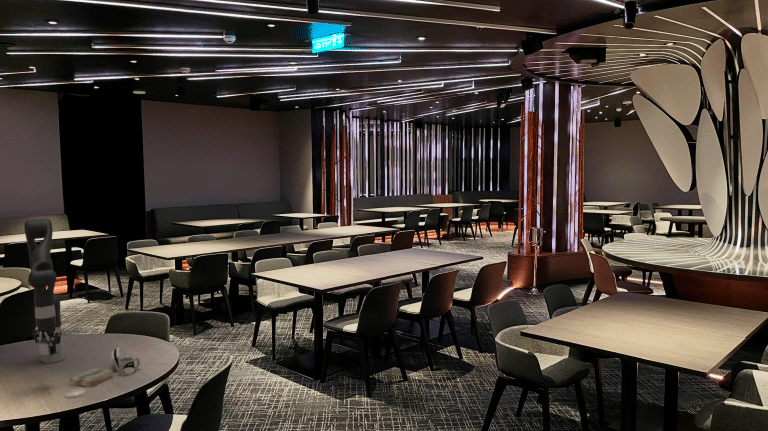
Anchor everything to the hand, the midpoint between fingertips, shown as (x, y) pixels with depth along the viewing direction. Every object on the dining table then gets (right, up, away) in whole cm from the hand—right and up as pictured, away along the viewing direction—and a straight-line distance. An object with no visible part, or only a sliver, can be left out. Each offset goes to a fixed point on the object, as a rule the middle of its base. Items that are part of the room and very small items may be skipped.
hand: (48, 353), depth 248 cm
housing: (0, -1, 0) cm, 1 cm away
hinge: (+20, -13, +25) cm, 35 cm away
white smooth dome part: (+16, -16, -7) cm, 24 cm away
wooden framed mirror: (+15, -14, +7) cm, 22 cm away
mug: (+28, -13, +17) cm, 36 cm away
